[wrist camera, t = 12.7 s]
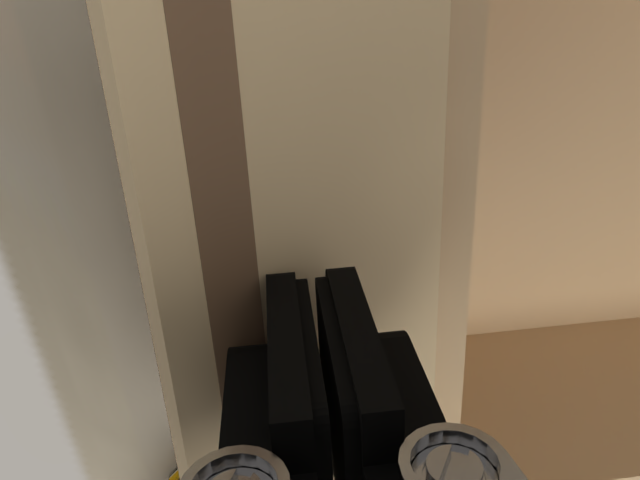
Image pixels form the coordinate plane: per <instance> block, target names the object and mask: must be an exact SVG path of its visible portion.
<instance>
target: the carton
mask: <svg viewBox="0 0 640 480" xmlns="http://www.w3.org/2000/svg"><path fill="white" fill-rule="evenodd" d="M434 394H435V397H436V399H437V401H438V403H439V406H440V408H441V410H442V413H443V415H444V417H445V420H446V422H450V423H458V424H465V425H468V426H471V427H474V428H477V429H480V430H481V431H483V432H485V433H486V434H488V435H490V436H491V437H493V438H495V439H496V440H497V441H498V442H499V443H500V444H501V445H502V446H503V447H504V448H505V450H506V451H507V452H508V453H509V455H510V456H511V457H512V459H513V460H514V461H515V463H516V464H517V465H518V467H519V468H520V469H521V471H522V472H523V473H524V475H525V476H526V477H527V479H528V480H640V0H451V14H450V37H449V61H448V84H447V107H446V131H445V154H444V177H443V201H442V224H441V247H440V271H439V294H438V317H437V341H436V364H435V387H434Z"/></svg>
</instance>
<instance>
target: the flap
mask: <svg viewBox="0 0 640 480" xmlns="http://www.w3.org/2000/svg"><path fill="white" fill-rule="evenodd" d="M86 5H87V10H88V15H89V20H90V25H91V30H92V35H93V40H94V45H95V50H96V55H97V60H98V66H99V71H100V76H101V81H102V86H103V91H104V96H105V101H106V106H107V111H108V116H109V121H110V127H111V132H112V137H113V142H114V147H115V152H116V157H117V162H118V167H119V172H120V177H121V182H122V188H123V193H124V198H125V203H126V208H127V213H128V218H129V223H130V228H131V233H132V238H133V243H134V249H135V254H136V259H137V264H138V269H139V274H140V279H141V284H142V289H143V294H144V299H145V304H146V310H147V315H148V320H149V325H150V330H151V335H152V340H153V345H154V350H155V355H156V360H157V365H158V371H159V376H160V381H161V386H162V391H163V396H164V401H165V406H166V411H167V416H168V421H169V426H170V432H171V437H172V442H173V447H174V452H175V457H176V462H177V467H178V472H179V477H180V480H181V478H182V476H183V474H184V473H185V472H186V471H187V470H188V469H189V468H190V467H191V466H192V465H193V464H194V463H195V462H196V461H197V460H199V459H200V458H202V457H204V456H205V455H207V454H208V453H210V452H213V451H215V450H218V447H219V436H220V425H221V414H222V404H223V393H224V382H225V371H226V360H227V351H228V348H229V347H239V346H249V345H259V344H267V307H266V274H277V273H288V272H295V277H296V279H306V278H307V281H308V287H309V294H310V300H311V306H312V312H313V318H314V324H315V330H316V336H317V342H318V348H319V339H318V323H317V307H316V290H315V278H316V277H325V270H326V269H332V268H343V267H354V266H355V268H356V271H357V274H358V277H359V279H360V282H361V285H362V288H363V291H364V294H365V297H366V300H367V302H368V305H369V308H370V311H371V314H372V317H373V320H374V322H375V325H376V328H377V331H378V333H380V332H390V331H400V330H405V331H406V332H407V333H408V335H409V337H410V339H411V342H412V344H413V346H414V348H415V351H416V353H417V355H418V358H419V360H420V362H421V364H422V367H423V369H424V371H425V374H426V376H427V378H428V381H429V383H430V385H431V387H432V390H433V392H434V387H435V364H436V341H437V317H438V294H439V271H440V247H441V224H442V201H443V177H444V154H445V131H446V107H447V84H448V61H449V37H450V14H451V0H86ZM333 480H334V475H333Z"/></svg>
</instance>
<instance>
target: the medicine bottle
mask: <svg viewBox="0 0 640 480" xmlns="http://www.w3.org/2000/svg"><path fill="white" fill-rule="evenodd" d="M169 480H180V477H179V472H178V469H177V470H176V471H175V472H174V473H173V474H172V475H171V476H170V478H169Z"/></svg>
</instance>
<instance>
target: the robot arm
mask: <svg viewBox="0 0 640 480" xmlns="http://www.w3.org/2000/svg"><path fill="white" fill-rule="evenodd" d="M315 290H316V307H317V323H318V339H319V348H318V342H317V336H316V330H315V324H314V318H313V312H312V306H311V300H310V294H309V287H308V281H307V278H306V279H296V277H295V272H288V273H277V274H266V307H267V344H259V345H249V346H239V347H229V348H228V351H227V360H226V371H225V382H224V393H223V404H222V414H221V425H220V436H219V447H218V450H215V451H213V452H210V453H208V454H207V455H205V456H204V457H202V458H200V459H199V460H197V461H196V462H195V463H194V464H193V465H192V466H191V467H190V468H189V469H188V470H187V471H186V472H185V473H184V474H183V476H182V478H181V480H333V475H334V480H528V479H527V477H526V476H525V475H524V473H523V472H522V471H521V469H520V468H519V467H518V465H517V464H516V463H515V461H514V460H513V459H512V457H511V456H510V455H509V453H508V452H507V451H506V450H505V448H504V447H503V446H502V445H501V444H500V443H499V442H498V441H497V440H496V439H495V438H493V437H491V436H490V435H488V434H486V433H485V432H483V431H481V430H480V429H477V428H474V427H471V426H468V425H465V424H458V423H450V422H446V420H445V417H444V415H443V413H442V410H441V408H440V406H439V403H438V401H437V399H436V397H435V394H434V392H433V390H432V387H431V385H430V383H429V381H428V378H427V376H426V374H425V371H424V369H423V367H422V364H421V362H420V360H419V358H418V355H417V353H416V351H415V348H414V346H413V344H412V342H411V339H410V337H409V335H408V333H407V332H406V331H405V330H400V331H390V332H380V333H378V331H377V328H376V325H375V322H374V320H373V317H372V314H371V311H370V308H369V305H368V302H367V300H366V297H365V294H364V291H363V288H362V285H361V282H360V279H359V277H358V274H357V271H356V268H355V266H354V267H343V268H332V269H326V270H325V277H316V278H315Z"/></svg>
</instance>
